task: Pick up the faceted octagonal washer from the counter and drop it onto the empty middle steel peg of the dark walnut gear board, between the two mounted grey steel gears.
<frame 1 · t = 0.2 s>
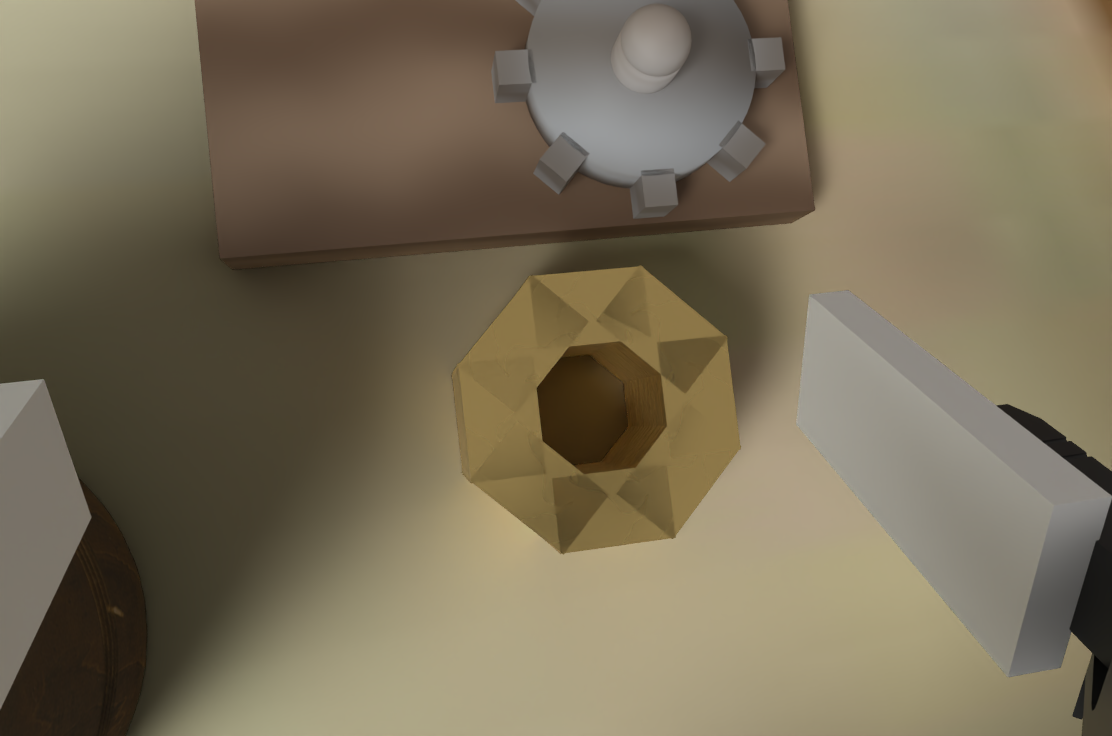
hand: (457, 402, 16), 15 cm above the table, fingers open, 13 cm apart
faceted octagonal washer: (573, 410, 31), on the table
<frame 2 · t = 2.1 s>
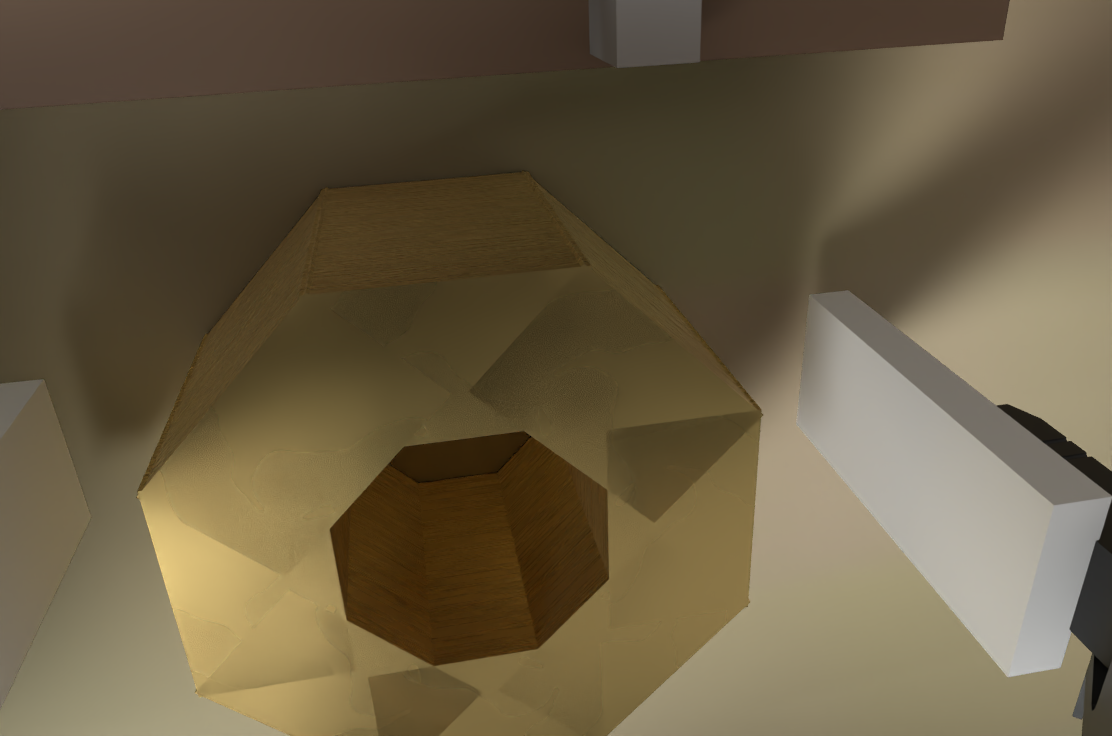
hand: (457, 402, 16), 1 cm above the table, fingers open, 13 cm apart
faceted octagonal washer: (449, 393, 17), on the table
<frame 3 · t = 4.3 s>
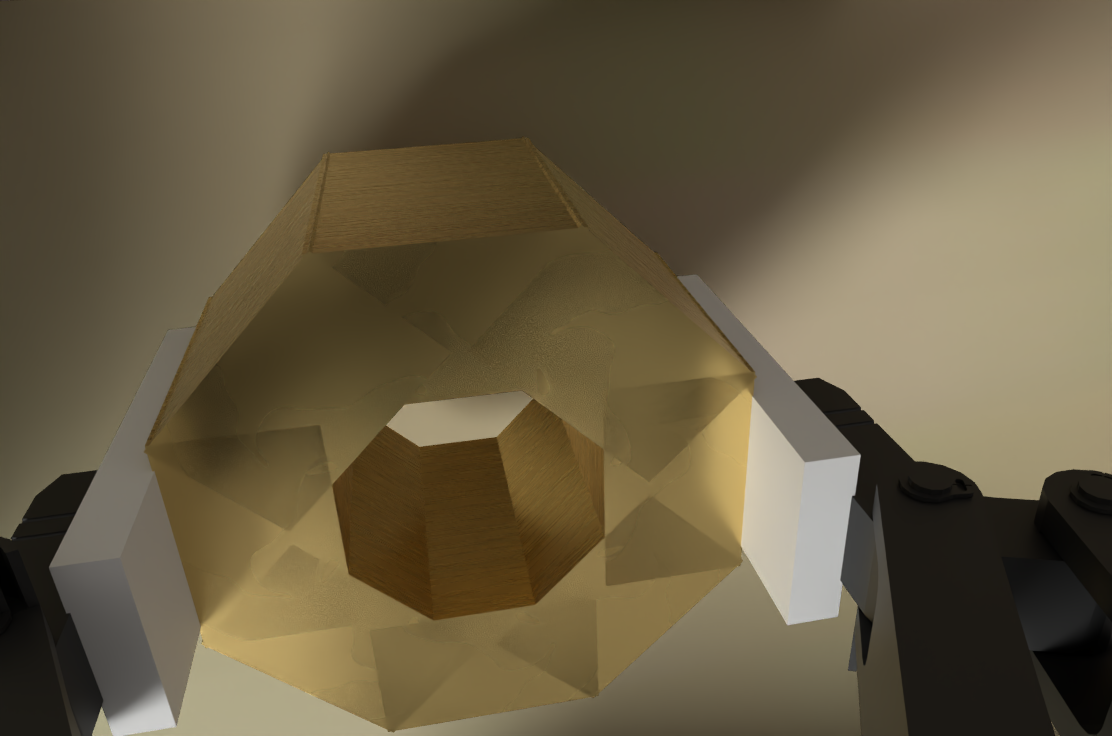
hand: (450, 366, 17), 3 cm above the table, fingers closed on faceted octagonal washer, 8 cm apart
faceted octagonal washer: (449, 358, 17), point 3 cm above the table, touching gripper
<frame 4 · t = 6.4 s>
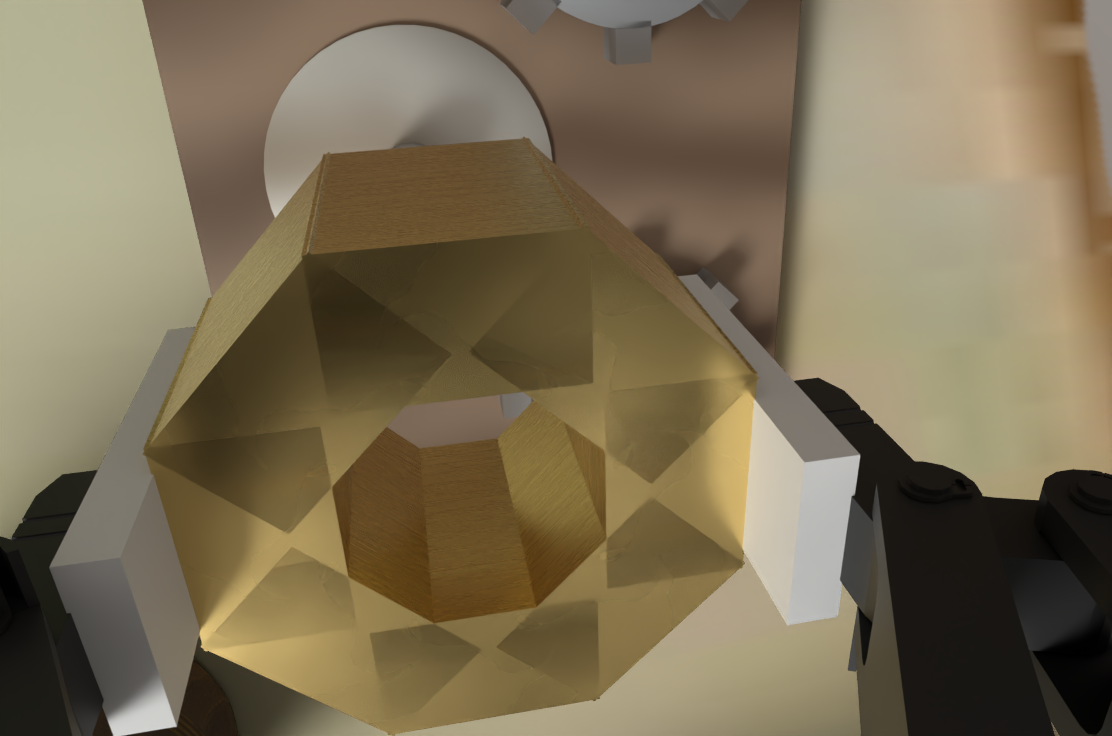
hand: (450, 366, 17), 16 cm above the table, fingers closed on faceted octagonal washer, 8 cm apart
gear board: (496, 153, 31), on the table
faceted octagonal washer: (450, 359, 17), point 16 cm above the table, touching gripper
when the fingers open (6 cm above the table, at t = 8.8 s): faceted octagonal washer drops 3 cm, resting on gear board.
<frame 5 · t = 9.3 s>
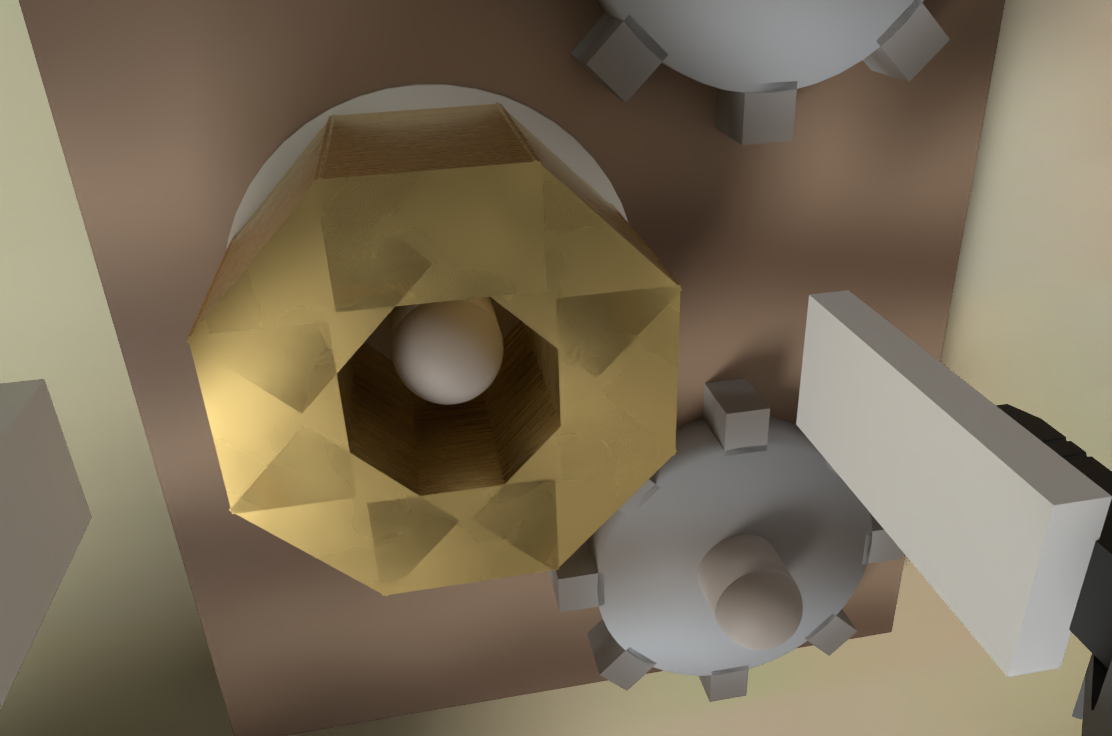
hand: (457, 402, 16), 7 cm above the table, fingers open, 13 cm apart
gear board: (552, 251, 22), on the table
faceted octagonal washer: (436, 295, 20), point 2 cm above the table, touching gear board
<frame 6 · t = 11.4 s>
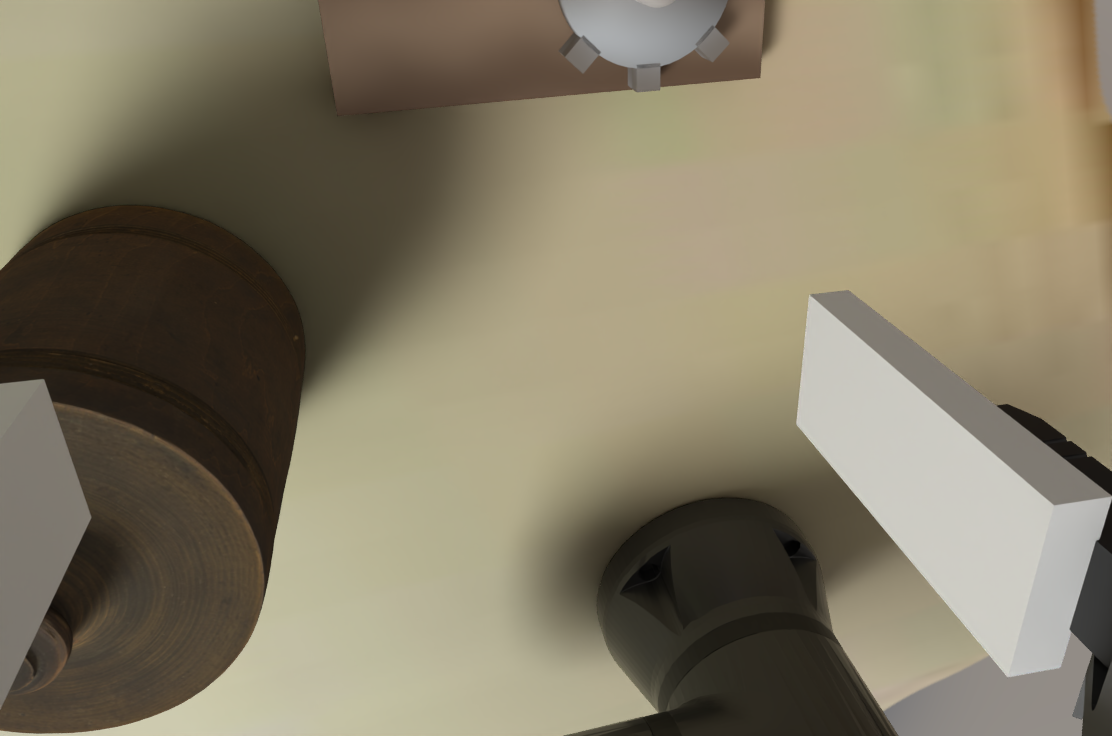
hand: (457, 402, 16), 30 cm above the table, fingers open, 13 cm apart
wooden container: (157, 341, 46), on the table
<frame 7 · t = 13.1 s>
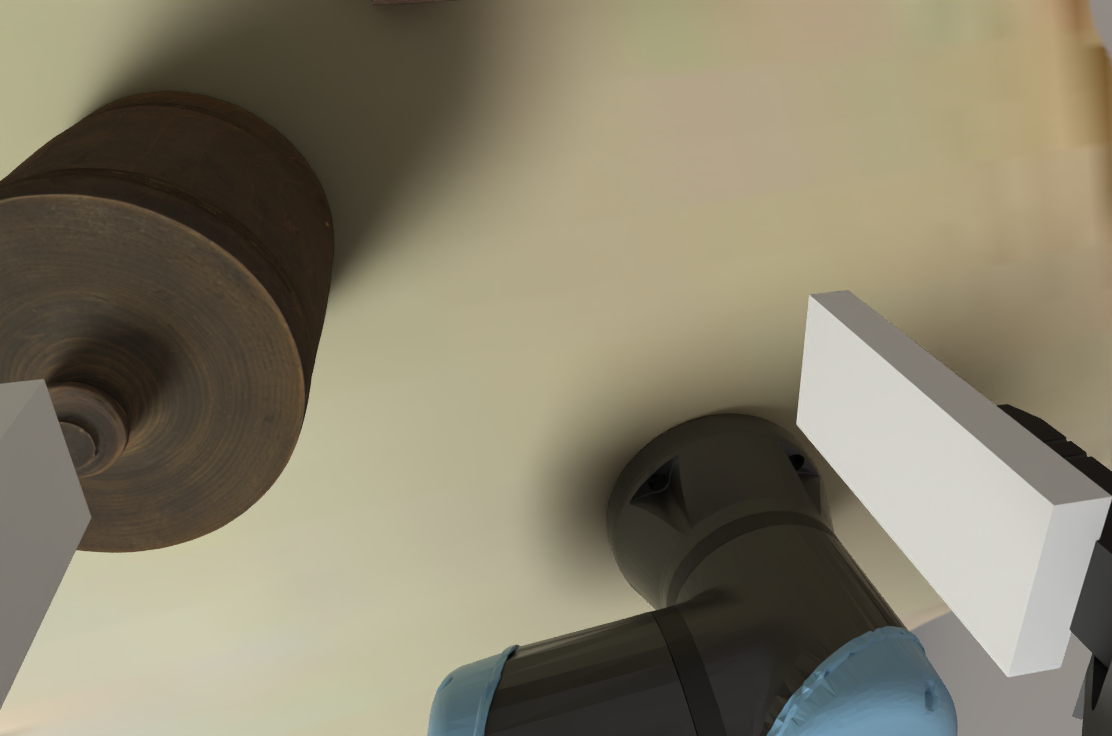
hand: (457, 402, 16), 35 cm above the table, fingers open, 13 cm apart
wooden container: (193, 232, 48), on the table
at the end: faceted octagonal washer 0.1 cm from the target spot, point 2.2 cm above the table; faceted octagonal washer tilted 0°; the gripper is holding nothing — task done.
